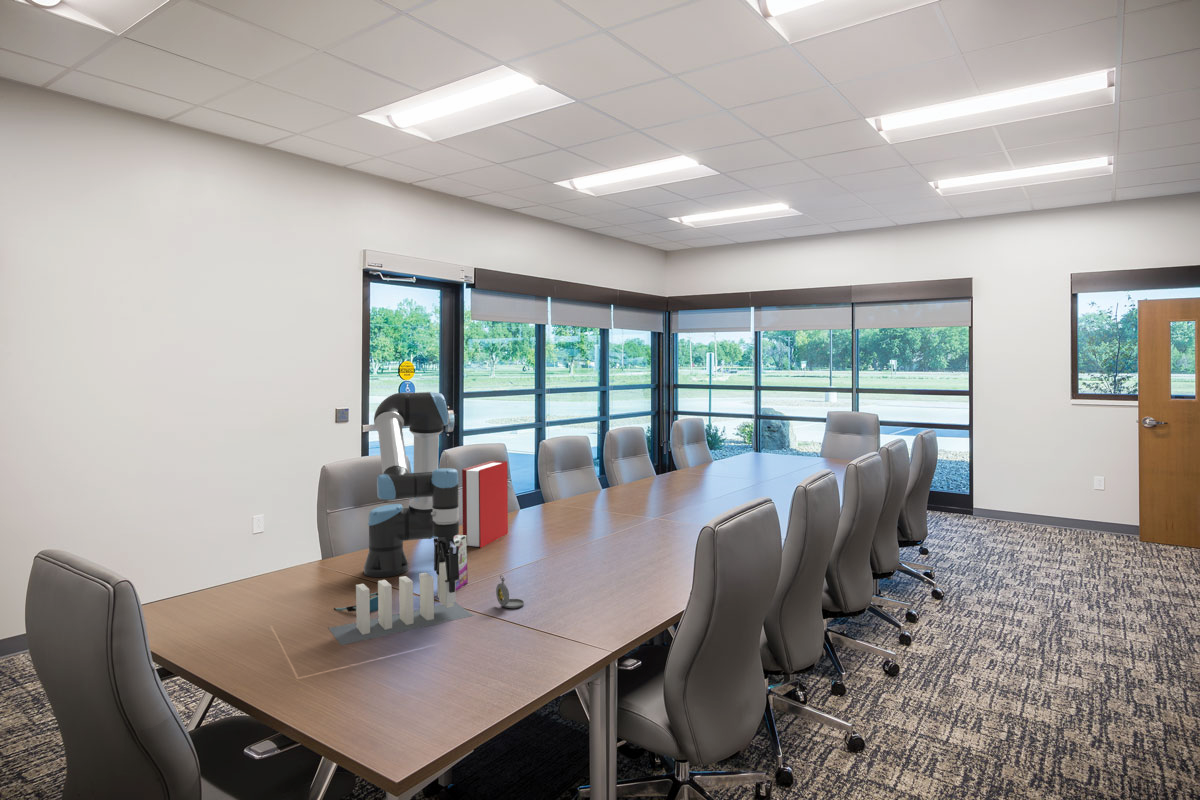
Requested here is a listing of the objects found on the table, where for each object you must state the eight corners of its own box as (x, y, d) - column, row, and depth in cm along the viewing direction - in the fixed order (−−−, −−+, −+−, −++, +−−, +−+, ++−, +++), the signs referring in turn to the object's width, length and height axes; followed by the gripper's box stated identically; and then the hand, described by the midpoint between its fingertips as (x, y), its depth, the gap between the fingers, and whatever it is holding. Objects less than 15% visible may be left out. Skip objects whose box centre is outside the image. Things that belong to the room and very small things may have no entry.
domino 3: (399, 618, 191) (399, 577, 190) (406, 616, 192) (405, 576, 191) (406, 624, 186) (405, 582, 185) (413, 623, 187) (412, 581, 186)
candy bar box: (454, 582, 225) (453, 534, 224) (468, 583, 224) (467, 535, 223) (439, 592, 214) (439, 542, 213) (454, 593, 213) (453, 543, 212)
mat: (328, 629, 183) (328, 628, 183) (455, 603, 204) (455, 601, 204) (341, 646, 172) (341, 645, 172) (473, 616, 193) (473, 615, 193)
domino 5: (439, 601, 197) (439, 562, 197) (445, 600, 198) (445, 560, 198) (447, 607, 192) (446, 566, 192) (453, 606, 193) (453, 565, 193)
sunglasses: (370, 617, 193) (367, 600, 193) (329, 618, 198) (327, 601, 198) (400, 602, 206) (398, 586, 206) (361, 602, 211) (359, 587, 211)
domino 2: (378, 622, 187) (377, 580, 187) (385, 621, 188) (385, 579, 188) (384, 629, 182) (384, 586, 182) (392, 628, 183) (391, 585, 183)
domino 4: (419, 614, 194) (419, 573, 193) (426, 612, 195) (426, 572, 195) (427, 620, 189) (426, 578, 189) (434, 618, 190) (433, 577, 190)
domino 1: (356, 627, 184) (355, 584, 183) (364, 626, 185) (363, 583, 184) (362, 634, 179) (361, 590, 178) (370, 632, 180) (369, 589, 179)
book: (480, 548, 268) (479, 469, 267) (462, 547, 270) (462, 469, 269) (509, 532, 294) (508, 461, 293) (492, 531, 296) (492, 460, 295)
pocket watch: (527, 603, 204) (527, 571, 204) (515, 612, 196) (515, 579, 196) (503, 600, 207) (503, 568, 207) (490, 609, 199) (490, 576, 199)
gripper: (422, 517, 200) (422, 593, 201) (445, 529, 184) (446, 611, 185) (445, 514, 204) (446, 588, 205) (470, 525, 189) (471, 606, 190)
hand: (446, 599), depth 195 cm, fingers closed on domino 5, 6 cm apart
